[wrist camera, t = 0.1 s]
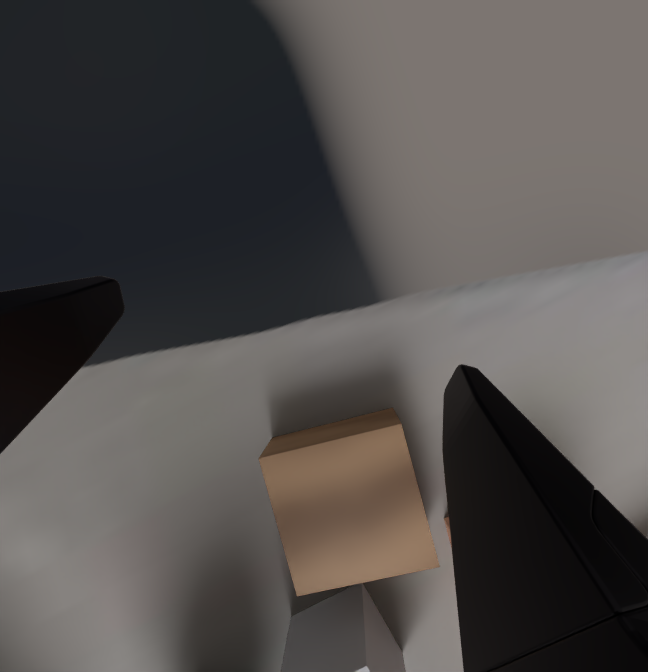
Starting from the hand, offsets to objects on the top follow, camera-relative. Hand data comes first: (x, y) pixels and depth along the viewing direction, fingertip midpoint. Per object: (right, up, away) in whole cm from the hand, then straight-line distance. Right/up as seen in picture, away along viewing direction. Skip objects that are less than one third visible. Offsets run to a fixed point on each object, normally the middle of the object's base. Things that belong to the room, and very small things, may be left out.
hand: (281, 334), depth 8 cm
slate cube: (+3, -22, +16) cm, 27 cm away
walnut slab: (+3, -11, +16) cm, 19 cm away
